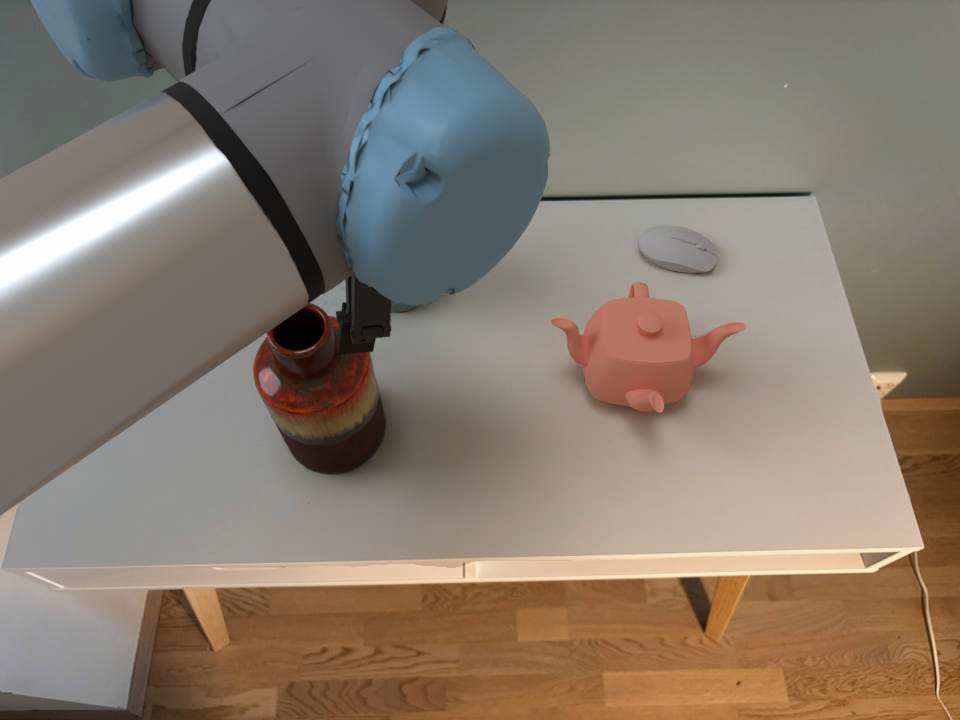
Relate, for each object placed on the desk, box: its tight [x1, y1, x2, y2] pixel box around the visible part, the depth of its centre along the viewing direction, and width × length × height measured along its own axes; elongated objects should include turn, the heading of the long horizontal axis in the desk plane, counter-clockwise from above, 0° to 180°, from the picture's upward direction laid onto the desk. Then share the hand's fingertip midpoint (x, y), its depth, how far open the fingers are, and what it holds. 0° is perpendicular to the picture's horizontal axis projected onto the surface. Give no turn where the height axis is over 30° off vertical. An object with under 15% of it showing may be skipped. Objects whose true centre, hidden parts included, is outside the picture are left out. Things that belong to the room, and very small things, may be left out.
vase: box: [252, 302, 387, 475], centre depth 71 cm, size 11×11×20 cm
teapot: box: [550, 281, 748, 414], centre depth 79 cm, size 14×14×11 cm
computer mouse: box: [638, 225, 718, 274], centre depth 91 cm, size 6×10×3 cm, turn 77°
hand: (342, 276), depth 60 cm, fingers open, 13 cm apart
